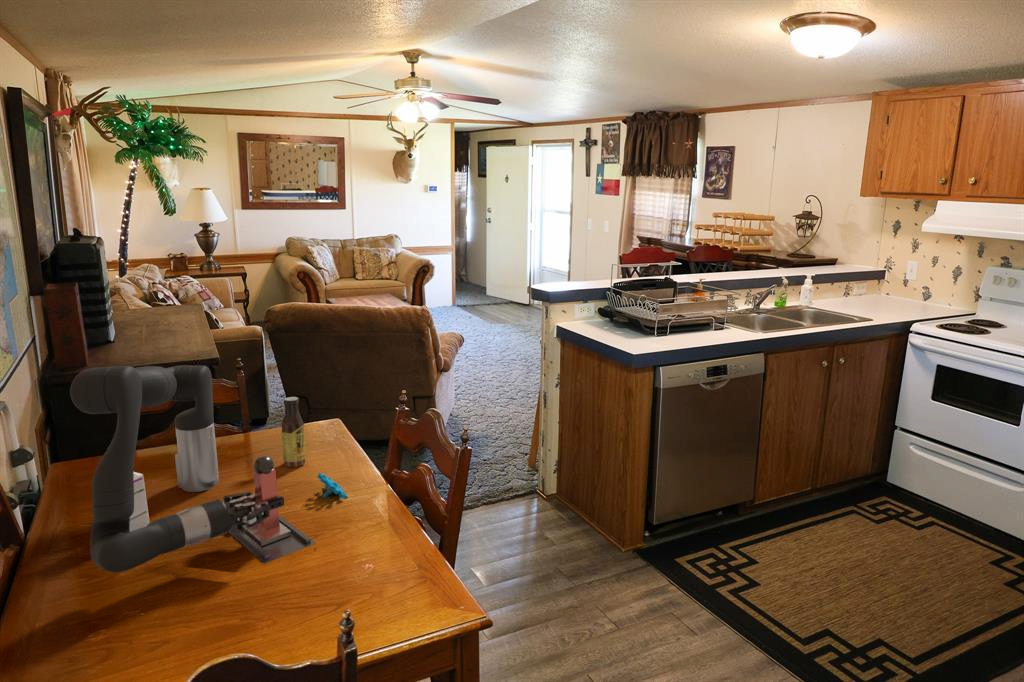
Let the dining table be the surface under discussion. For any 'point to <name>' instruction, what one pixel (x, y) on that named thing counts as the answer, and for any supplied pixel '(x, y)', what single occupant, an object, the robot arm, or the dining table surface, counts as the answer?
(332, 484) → the gear
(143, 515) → the syrup box
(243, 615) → the dining table surface
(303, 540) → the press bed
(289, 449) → the sauce bottle
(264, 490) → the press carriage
